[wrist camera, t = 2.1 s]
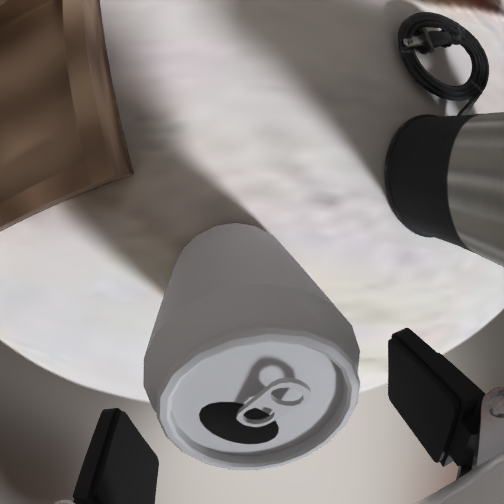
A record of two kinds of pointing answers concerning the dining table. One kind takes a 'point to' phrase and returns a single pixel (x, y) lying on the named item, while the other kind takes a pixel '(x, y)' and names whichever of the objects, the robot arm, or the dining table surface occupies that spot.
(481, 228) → the milk frother
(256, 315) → the can
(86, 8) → the tray
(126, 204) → the dining table surface
